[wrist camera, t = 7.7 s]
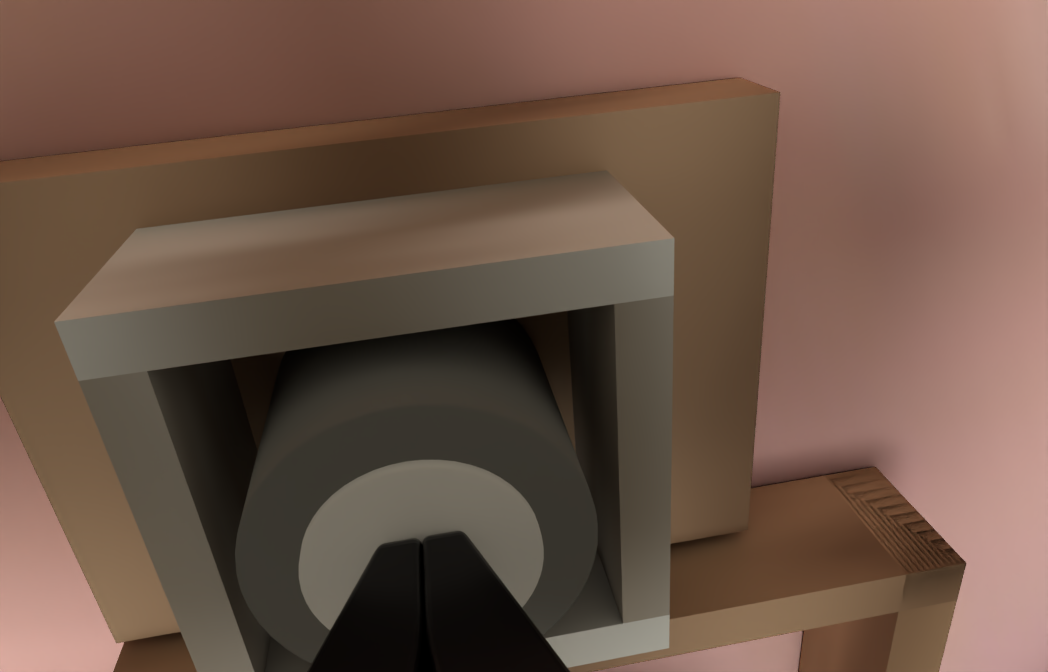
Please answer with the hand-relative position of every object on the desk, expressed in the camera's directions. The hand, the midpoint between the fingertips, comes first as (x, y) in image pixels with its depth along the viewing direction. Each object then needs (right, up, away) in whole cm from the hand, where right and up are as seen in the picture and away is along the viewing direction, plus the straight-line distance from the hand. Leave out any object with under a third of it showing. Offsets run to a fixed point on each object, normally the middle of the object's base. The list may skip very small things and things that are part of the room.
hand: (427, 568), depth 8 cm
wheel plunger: (0, +1, +3) cm, 3 cm away
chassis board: (+1, -2, +7) cm, 7 cm away
